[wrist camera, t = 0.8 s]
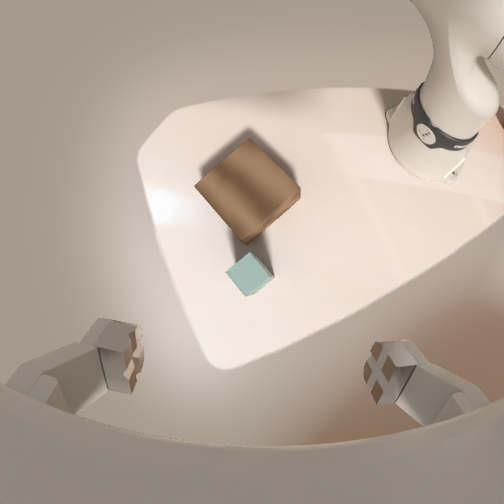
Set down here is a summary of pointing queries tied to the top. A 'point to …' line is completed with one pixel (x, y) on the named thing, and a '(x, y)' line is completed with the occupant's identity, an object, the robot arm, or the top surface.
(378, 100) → the top surface
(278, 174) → the walnut block
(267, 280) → the tea tin
